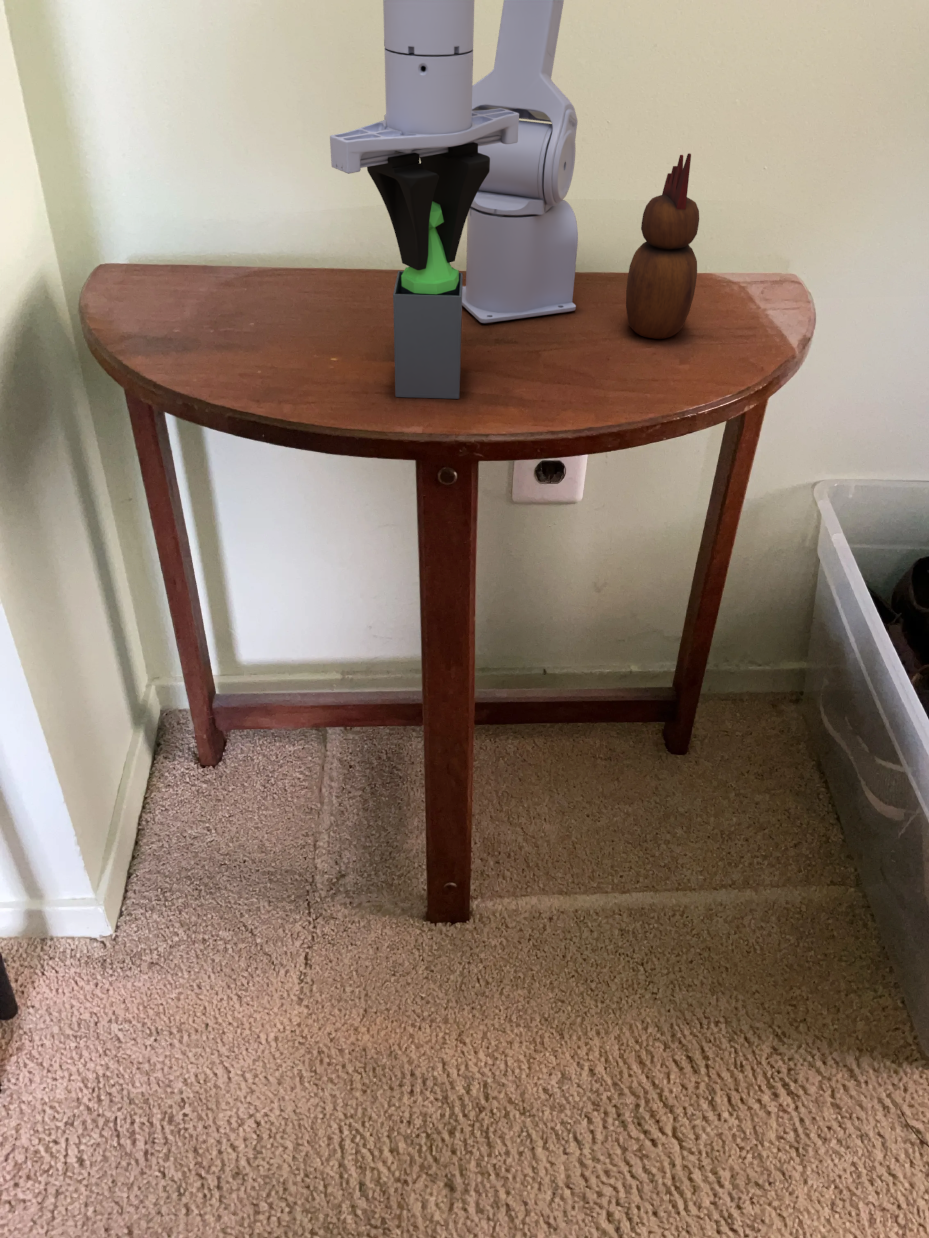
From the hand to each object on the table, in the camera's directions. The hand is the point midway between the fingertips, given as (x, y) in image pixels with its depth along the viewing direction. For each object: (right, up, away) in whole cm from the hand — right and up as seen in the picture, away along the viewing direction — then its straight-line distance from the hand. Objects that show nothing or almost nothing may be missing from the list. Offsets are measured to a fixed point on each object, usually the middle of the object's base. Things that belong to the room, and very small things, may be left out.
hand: (428, 262), depth 72 cm
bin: (0, -7, +6) cm, 10 cm away
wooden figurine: (+19, -1, +15) cm, 25 cm away
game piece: (0, -1, +1) cm, 2 cm away
